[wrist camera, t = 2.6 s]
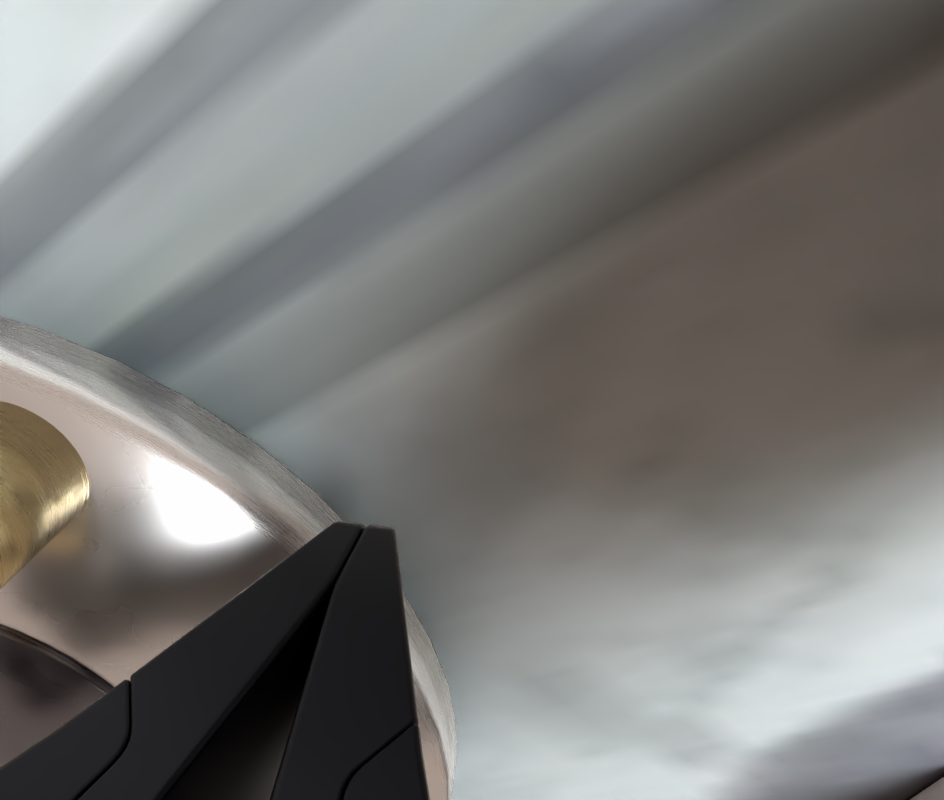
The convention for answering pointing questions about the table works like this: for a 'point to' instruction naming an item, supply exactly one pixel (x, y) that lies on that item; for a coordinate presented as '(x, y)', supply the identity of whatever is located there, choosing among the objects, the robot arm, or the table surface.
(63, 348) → the turntable
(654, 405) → the table surface
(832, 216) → the table surface
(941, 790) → the coffee box
